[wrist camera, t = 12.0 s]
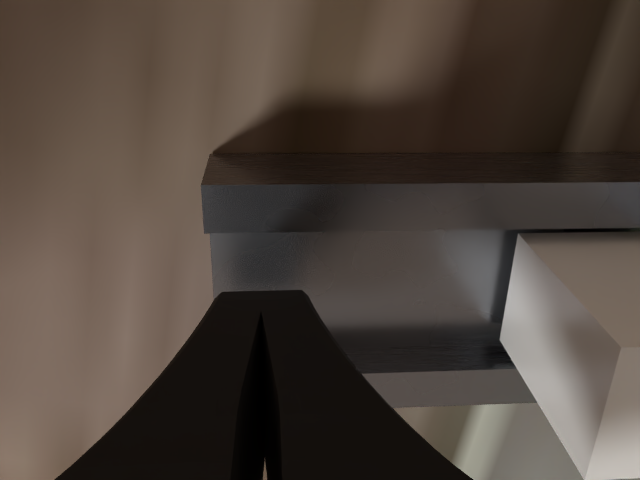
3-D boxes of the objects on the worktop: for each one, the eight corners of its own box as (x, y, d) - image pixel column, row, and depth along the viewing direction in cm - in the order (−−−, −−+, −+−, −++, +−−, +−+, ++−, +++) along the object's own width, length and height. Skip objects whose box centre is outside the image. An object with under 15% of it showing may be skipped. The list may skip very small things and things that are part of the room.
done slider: (499, 339, 11) (584, 480, 8) (518, 233, 11) (621, 347, 7) (621, 336, 12) (749, 473, 9) (649, 231, 11) (804, 342, 8)
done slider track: (222, 361, 12) (211, 455, 10) (210, 154, 11) (193, 209, 8) (640, 348, 13) (721, 433, 11) (698, 152, 11) (810, 203, 9)
